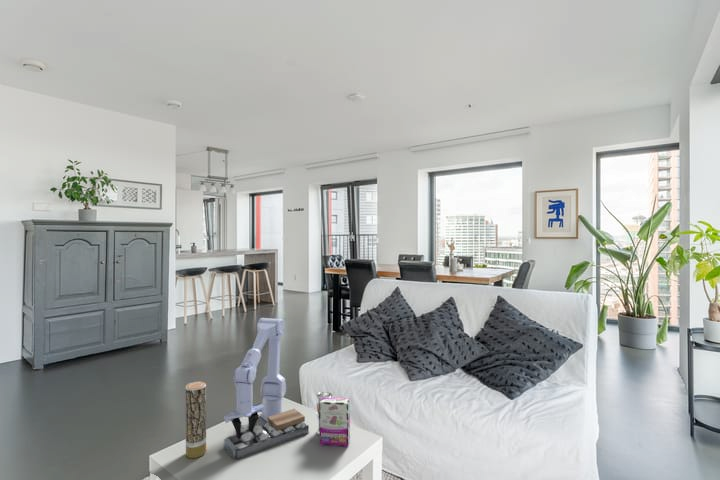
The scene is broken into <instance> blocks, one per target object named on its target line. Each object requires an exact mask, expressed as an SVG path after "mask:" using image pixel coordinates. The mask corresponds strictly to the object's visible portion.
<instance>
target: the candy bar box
mask: <svg viewBox="0 0 720 480" xmlns="http://www.w3.org/2000/svg"><path fill="white" fill-rule="evenodd" d="M350 401H351V400H350V398H347V397H346V398H345V397H344V398H343V397H333V398H324V397H322V399H321V401H320V403H319V405H320V406H319V408H320V435H319V445H320V446H329V447H330V446H332V447H349V444H350V442H351V417H350V415H351V409H350V408H351V405H350Z"/></svg>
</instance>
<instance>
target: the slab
mask: <svg viewBox="0 0 720 480" xmlns="http://www.w3.org/2000/svg"><path fill="white" fill-rule="evenodd" d="M305 418H306V416H305V415H304V414H302V413H301V412H299V410H297V409H296V408H293V409H289V410H286V411H282V413H279V414H276V415H273V416H270V417H268V423H269V424H270V425H271V426H273V427H274V428H275V429H276V430H277V431H278V430H281V429H284V428H287V427H290V426H293V425H296V424H298V423H301V422H304V423H305Z"/></svg>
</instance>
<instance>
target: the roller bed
mask: <svg viewBox="0 0 720 480" xmlns="http://www.w3.org/2000/svg"><path fill="white" fill-rule="evenodd" d="M309 427H310V426H309V425H308V424H306V423H305V421H304V422H301V423H298V424H296V425H293V426H290V427H287V428H284V429H281V430H278V431H277V430H276V429H275V428H274V427H273V426H271V425H270V424H269V423H268V422H267V421H266V423H265V424H263V425H259V424H258V425H255V426H254V430H253V435H254V440H255V441H257V442H255V443H252V444H250V445H246V446H244V447H242V448H237V447H236V446H235V444H238V443H240V442H242V440H241V439H238V438H237V435H236V434H233V435H229V436H227V437H226V438H224V439H223V447H224V449H225V451H226V452H227V454H228V455H229V456H230V457H231V459H232V460H240V459H243V458H245V457H247V456H251V455H253V454H256V453H259V452H261V451H264V450H268V449H270V448H272V447H275V446H277V445H281V444H283V443H286V442H288V441H291V440H293V439H296V438H299V437H302V436H304V435H307V434H309V433H310V432H309Z"/></svg>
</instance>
